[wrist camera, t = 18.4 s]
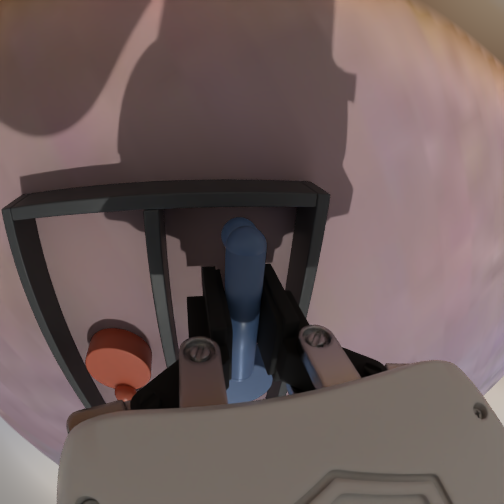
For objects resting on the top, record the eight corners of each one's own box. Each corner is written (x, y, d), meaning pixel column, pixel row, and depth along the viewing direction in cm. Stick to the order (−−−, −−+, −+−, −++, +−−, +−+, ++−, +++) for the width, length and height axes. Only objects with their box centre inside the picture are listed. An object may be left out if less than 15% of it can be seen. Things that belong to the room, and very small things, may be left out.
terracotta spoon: (145, 325, 15) (142, 361, 13) (171, 419, 20) (173, 446, 18) (82, 325, 14) (72, 358, 12) (127, 418, 19) (126, 445, 17)
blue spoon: (198, 384, 16) (203, 421, 14) (186, 208, 11) (186, 238, 8) (261, 378, 17) (272, 412, 14) (285, 207, 12) (311, 234, 9)
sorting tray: (113, 415, 20) (111, 442, 17) (30, 189, 11) (0, 209, 8) (266, 407, 23) (274, 433, 20) (304, 177, 14) (331, 194, 11)
